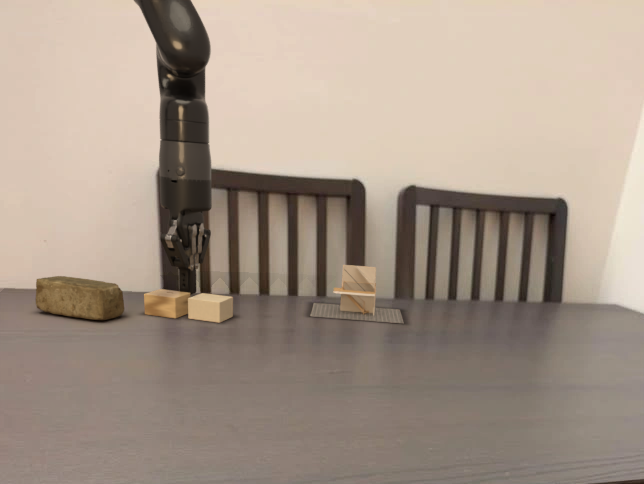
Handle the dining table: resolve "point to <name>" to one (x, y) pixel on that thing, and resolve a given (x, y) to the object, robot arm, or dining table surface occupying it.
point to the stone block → (79, 297)
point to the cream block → (210, 307)
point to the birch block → (166, 303)
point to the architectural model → (357, 298)
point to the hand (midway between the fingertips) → (188, 293)
